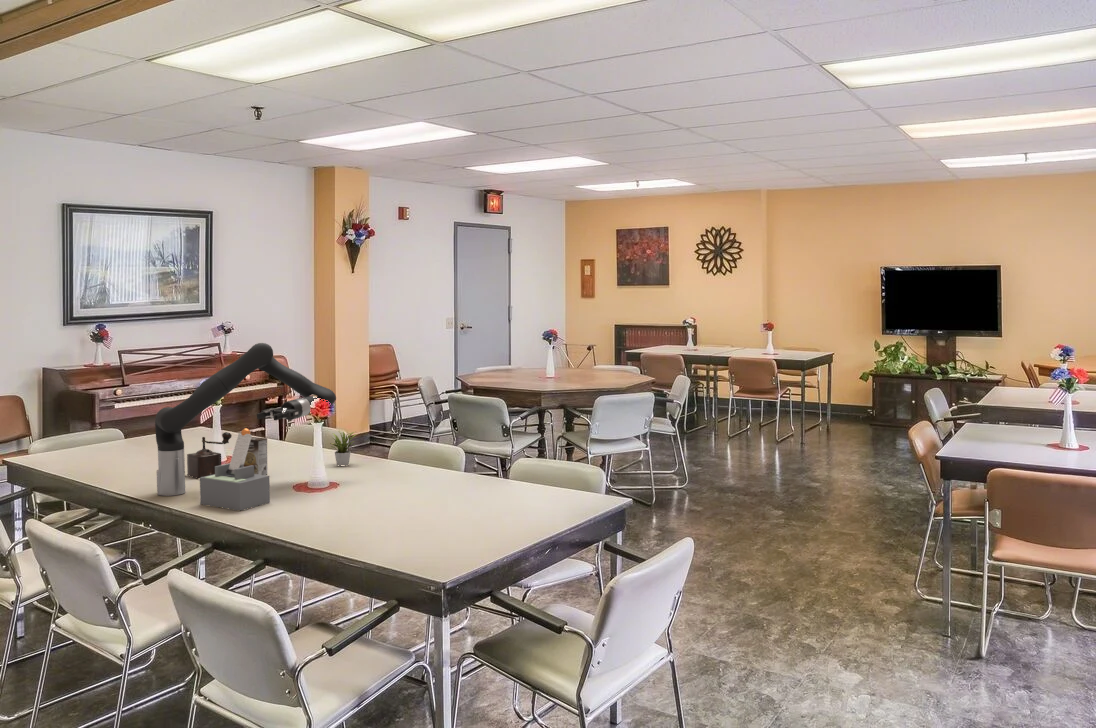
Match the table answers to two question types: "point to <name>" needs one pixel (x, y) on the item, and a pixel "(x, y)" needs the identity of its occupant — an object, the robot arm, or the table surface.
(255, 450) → the coffee box
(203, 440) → the manual coffee grinder
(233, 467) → the lever
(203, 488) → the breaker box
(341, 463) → the house plant
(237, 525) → the table surface
